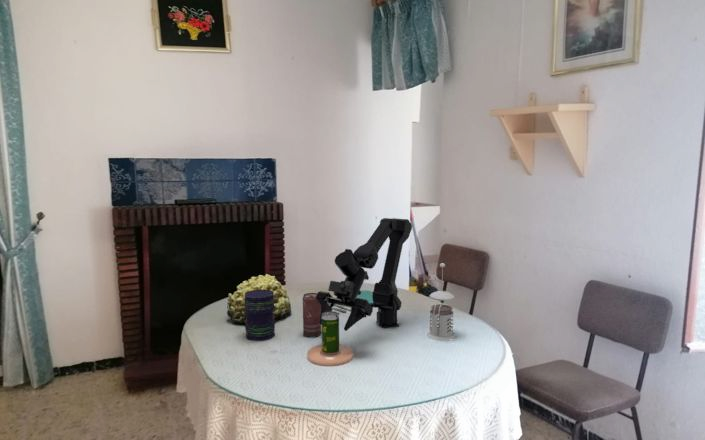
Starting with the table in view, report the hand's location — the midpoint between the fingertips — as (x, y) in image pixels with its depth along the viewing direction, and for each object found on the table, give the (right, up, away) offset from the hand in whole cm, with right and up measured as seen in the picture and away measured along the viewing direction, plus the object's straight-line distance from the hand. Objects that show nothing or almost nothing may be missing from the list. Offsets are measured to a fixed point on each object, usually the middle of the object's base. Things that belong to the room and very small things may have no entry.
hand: (332, 327), depth 151 cm
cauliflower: (-30, -4, +39) cm, 49 cm away
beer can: (-1, -8, 0) cm, 8 cm away
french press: (+36, -7, +16) cm, 40 cm away
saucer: (-1, -9, 0) cm, 9 cm away
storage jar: (-25, -7, +18) cm, 32 cm away
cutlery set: (+6, -2, +54) cm, 55 cm away
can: (-8, -7, +19) cm, 21 cm away
